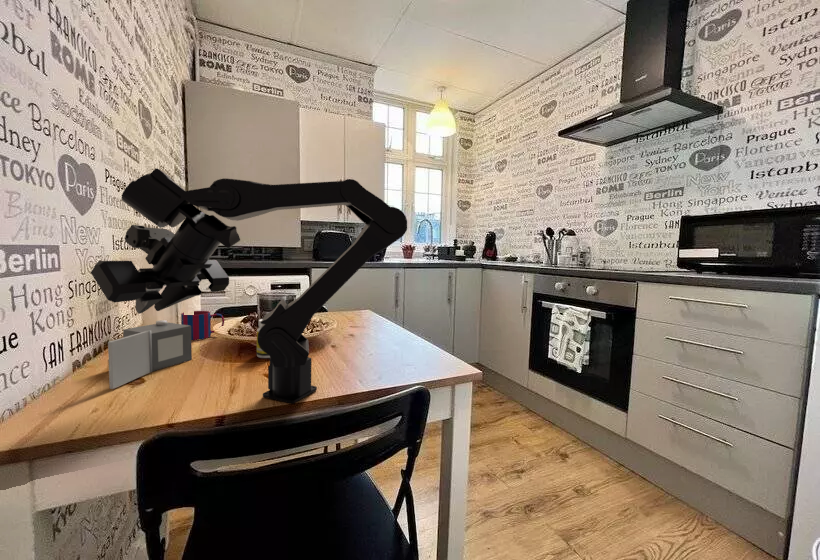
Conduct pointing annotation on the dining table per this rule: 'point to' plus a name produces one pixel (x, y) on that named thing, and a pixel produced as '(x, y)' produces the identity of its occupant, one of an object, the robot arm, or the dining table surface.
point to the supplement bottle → (259, 351)
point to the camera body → (166, 343)
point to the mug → (199, 324)
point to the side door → (129, 358)
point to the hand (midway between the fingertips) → (147, 310)
